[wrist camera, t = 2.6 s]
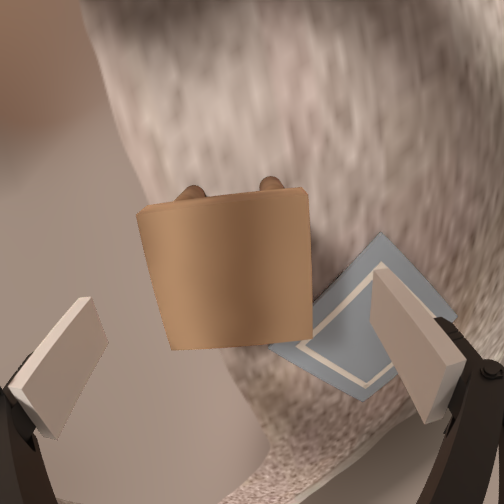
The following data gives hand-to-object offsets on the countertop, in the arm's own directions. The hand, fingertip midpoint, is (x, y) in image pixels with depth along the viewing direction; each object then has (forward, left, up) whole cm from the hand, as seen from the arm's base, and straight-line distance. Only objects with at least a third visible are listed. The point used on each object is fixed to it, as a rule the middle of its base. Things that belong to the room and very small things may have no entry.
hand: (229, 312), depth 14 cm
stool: (0, 0, -11) cm, 11 cm away
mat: (+16, 0, -11) cm, 19 cm away
